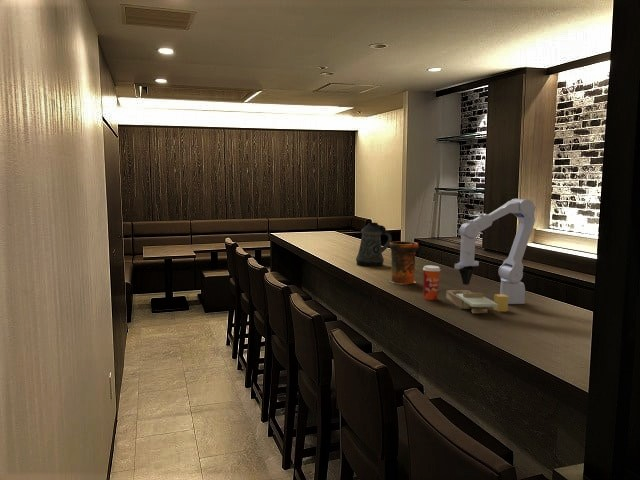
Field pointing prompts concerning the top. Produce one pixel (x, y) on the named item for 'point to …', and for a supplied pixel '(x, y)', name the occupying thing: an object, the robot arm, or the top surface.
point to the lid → (476, 300)
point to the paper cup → (431, 282)
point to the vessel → (403, 261)
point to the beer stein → (372, 245)
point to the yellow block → (501, 302)
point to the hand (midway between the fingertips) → (465, 284)
